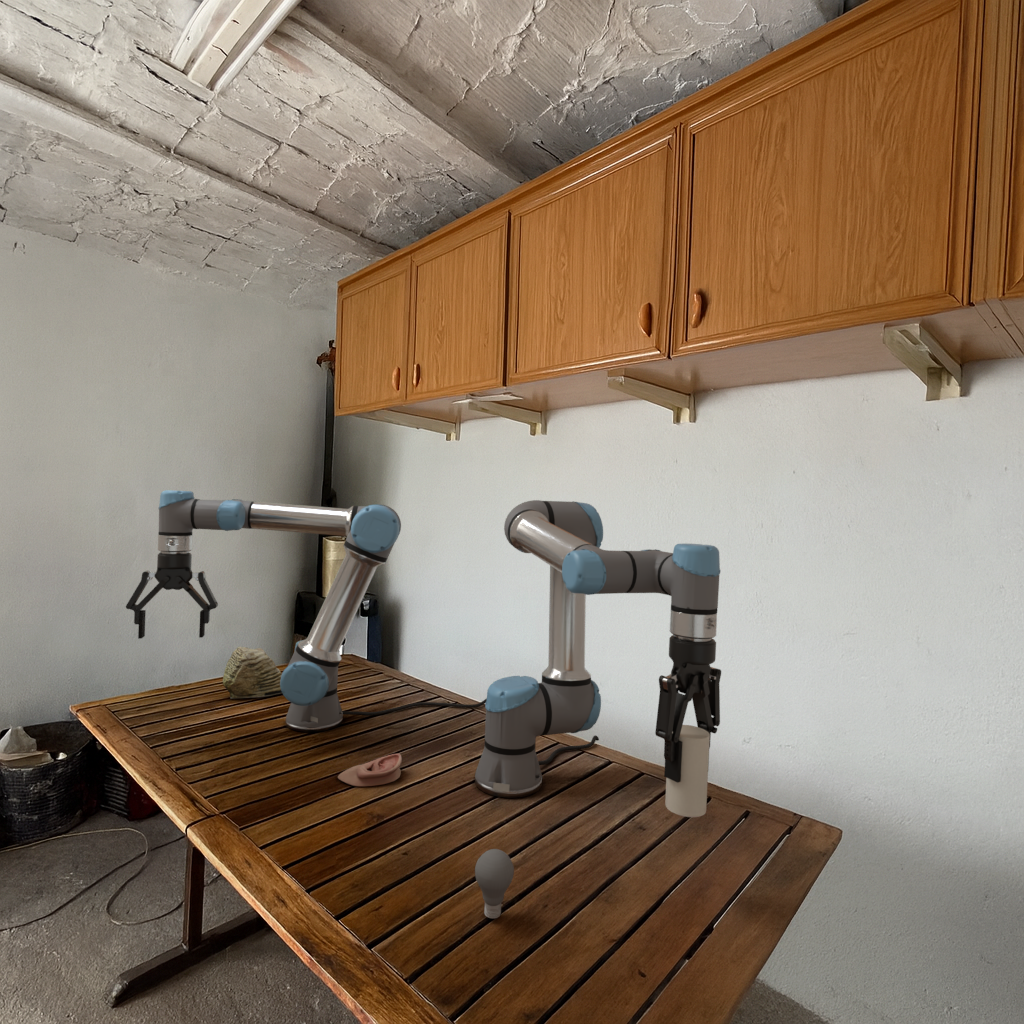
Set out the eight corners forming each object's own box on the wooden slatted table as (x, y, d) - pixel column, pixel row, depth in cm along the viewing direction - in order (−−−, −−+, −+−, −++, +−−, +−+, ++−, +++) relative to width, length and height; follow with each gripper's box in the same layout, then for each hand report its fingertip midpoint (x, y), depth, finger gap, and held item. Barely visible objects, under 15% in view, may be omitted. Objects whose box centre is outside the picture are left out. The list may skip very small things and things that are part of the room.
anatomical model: (331, 765, 140) (354, 745, 151) (331, 782, 140) (354, 762, 151) (388, 772, 137) (407, 752, 148) (387, 791, 137) (406, 769, 148)
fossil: (218, 695, 195) (220, 647, 195) (278, 685, 208) (279, 640, 207) (228, 703, 189) (230, 653, 188) (289, 692, 201) (290, 645, 201)
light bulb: (472, 903, 100) (475, 841, 100) (510, 903, 101) (513, 841, 101) (473, 929, 94) (476, 863, 94) (513, 928, 95) (516, 862, 95)
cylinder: (686, 795, 110) (689, 722, 110) (714, 812, 104) (718, 735, 104) (656, 802, 107) (660, 727, 107) (684, 820, 101) (687, 741, 101)
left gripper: (113, 552, 151) (110, 641, 151) (226, 554, 158) (223, 639, 158) (122, 549, 158) (120, 634, 158) (231, 551, 165) (228, 632, 165)
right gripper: (672, 647, 97) (666, 797, 97) (746, 635, 108) (740, 769, 109) (635, 637, 103) (629, 778, 103) (709, 627, 114) (703, 754, 115)
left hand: (172, 637), depth 158 cm, fingers open, 13 cm apart
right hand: (686, 773), depth 106 cm, fingers closed on cylinder, 7 cm apart
